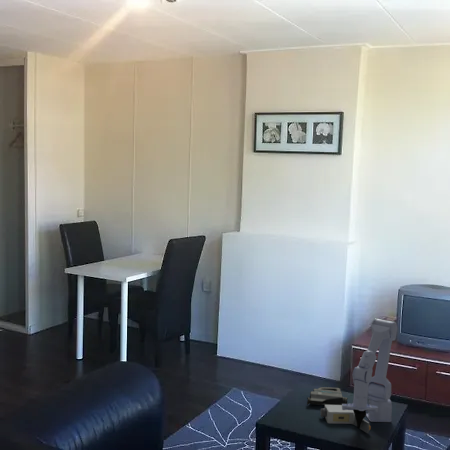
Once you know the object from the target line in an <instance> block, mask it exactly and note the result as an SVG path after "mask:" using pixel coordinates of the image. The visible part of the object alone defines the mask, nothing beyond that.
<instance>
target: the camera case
mask: <svg viewBox="0 0 450 450" xmlns="http://www.w3.org/2000/svg"><path fill="white" fill-rule="evenodd" d="M319 414H320V417H321V418H325V421H326V423H327V424H340V425H341V424H344V425H345V424H351V425H354V424H353V414H354V411H353V410H342V405H324V408H320V413H319Z"/></svg>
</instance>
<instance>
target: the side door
mask: <svg viewBox="0 0 450 450" xmlns="http://www.w3.org/2000/svg"><path fill="white" fill-rule="evenodd" d="M370 423H371V422H370V421H369V420H368V421H367V420H366V419H365V418H364V419H363V420H362V423H361V426H360V428H359V429H360V430H361V431H363V432H365V434H369V433H370V430H371V427H372V426H371V425H370ZM352 425H353V426H356V427H357V422H356V417H355V414H353V424H352Z"/></svg>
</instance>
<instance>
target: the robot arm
mask: <svg viewBox="0 0 450 450" xmlns="http://www.w3.org/2000/svg"><path fill="white" fill-rule="evenodd" d="M370 327H371V329H370V330H371V338H370V341H369V344H368V346H367V350H365V351H363V353H362V356H361V358H360V360H359V361H358V362H359V363H358V365H357V366H355V367H354V368H353V371H352V377H351V378H352V380H353V381H352V383H353V386H354V387H353V401H352V403H347V404H342V410H353V411H354V414H355V417H356V422H357V426H356V427H357V429H360V426H361V423H362V420H363V419H364V420H365V417H366V418H367V419H368V421H369V423H371V422H372V423H392V410H393V405H392V400H391V396H392V383H391V382H390V380H389V379H388V378H387V374H388V373H387V372H388V367H389V362H390V355H391V349H392V344H393V341H396V339H397V335H398V324H397V322H396V321H391V320H387V319H381V318H377V317H375V318H374V319H372V322H371V326H370ZM377 352H378V353H377ZM376 354H377V355H376ZM375 363H376V365H375ZM374 365H375V371H374V375H373V367H374ZM368 399H369V400H368ZM367 412H368V413H367Z"/></svg>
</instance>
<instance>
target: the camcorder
mask: <svg viewBox="0 0 450 450" xmlns="http://www.w3.org/2000/svg"><path fill="white" fill-rule="evenodd" d="M348 399H349V398H348V397H345V396H343V393H342V391H341V388H339V387H328V386H327V387H323V386H322V387H318V388H313V389H312V391H310V394H309V397H307V401H306V405H310V404H311V405H319V406H320V405H321V406H322V405H324V406H325V405H342V404H348Z"/></svg>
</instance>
